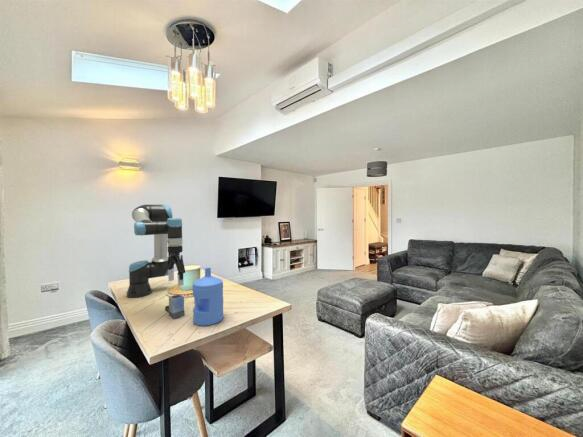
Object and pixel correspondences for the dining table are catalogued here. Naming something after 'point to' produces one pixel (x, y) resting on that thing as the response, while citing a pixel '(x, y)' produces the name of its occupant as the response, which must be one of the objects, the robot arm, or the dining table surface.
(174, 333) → the dining table surface
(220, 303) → the water jug
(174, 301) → the socket
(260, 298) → the dining table surface
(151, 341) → the dining table surface
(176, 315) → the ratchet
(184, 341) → the dining table surface
